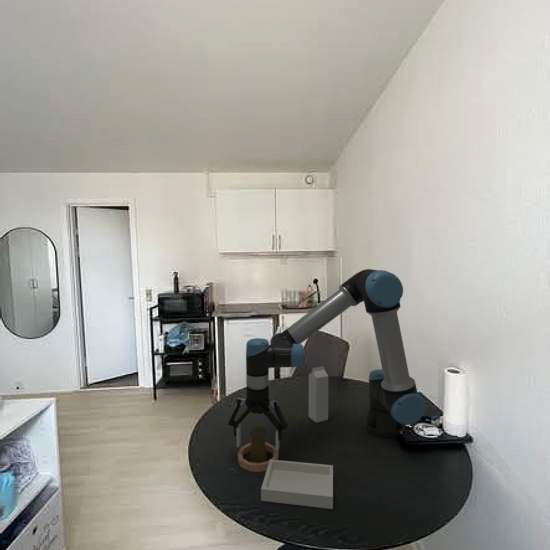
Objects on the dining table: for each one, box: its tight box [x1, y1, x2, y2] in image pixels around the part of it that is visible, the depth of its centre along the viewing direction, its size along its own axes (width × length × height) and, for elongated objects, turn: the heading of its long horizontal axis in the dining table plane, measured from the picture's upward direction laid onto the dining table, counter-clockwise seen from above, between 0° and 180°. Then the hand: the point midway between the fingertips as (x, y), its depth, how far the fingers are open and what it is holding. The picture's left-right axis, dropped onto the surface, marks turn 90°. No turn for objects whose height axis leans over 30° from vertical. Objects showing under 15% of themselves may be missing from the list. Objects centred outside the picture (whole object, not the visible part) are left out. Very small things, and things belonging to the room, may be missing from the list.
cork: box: [249, 425, 268, 463], centre depth 116 cm, size 6×6×11 cm
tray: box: [260, 458, 334, 510], centre depth 102 cm, size 20×14×4 cm
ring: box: [237, 441, 279, 473], centre depth 116 cm, size 13×13×2 cm
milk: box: [308, 365, 329, 424], centre depth 144 cm, size 6×6×22 cm
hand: (257, 446), depth 116 cm, fingers open, 13 cm apart
